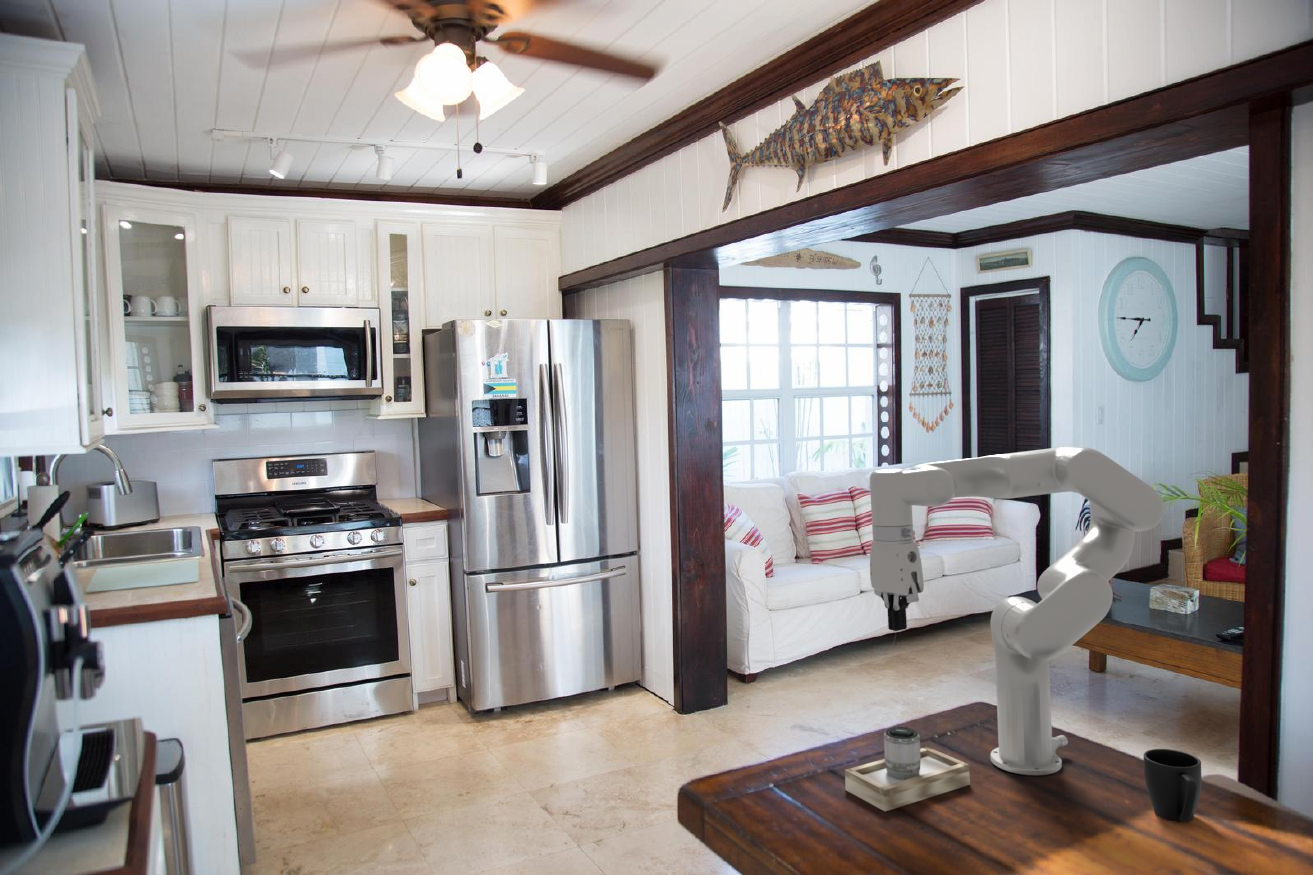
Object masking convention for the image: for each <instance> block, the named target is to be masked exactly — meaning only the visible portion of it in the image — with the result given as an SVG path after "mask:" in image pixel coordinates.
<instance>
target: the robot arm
mask: <svg viewBox="0 0 1313 875" xmlns="http://www.w3.org/2000/svg"><path fill="white" fill-rule="evenodd" d="M869 489H870V492H869V493H870V507H871V509H870V510H871V523H872V524H871V527H872V530H871V531H872V540H871V545H870V554H869V557H870V558H869V576H870V584H871V585H870V586H871V588H873V589H874V590H873V593H874V595H875V596H878V598H881V599H882V601H883V603H884V607H885V609H887V625H888V630H889V631H893V632H898V631H902V630H906V629H907V627H908V625H907V623H908V622H907V609H909V605H910V604H911V603H917V602H919V600H920V598H919V593H920V594H921V593H923V592H924V585H925V584H924V574H923V565H922V559H921V553H920V549H919V546H918V543H917V541H915V540H914V537H915V535H916V531H915V530H914V523H913V506H918V507H929V508H930V507H932V508H937V507H942V506H944V505H947V504H949V503H950V502H951V501H952V500H953V499H954V498H955V499H956V498H967V497H968V498H971V497H975V498H976V497H977V498H978V497H980V498H988V499H989V498H990V499H995V500H996V499H997V500H998V499H999V500H1001V499H1003V500H1005V499H1008V500H1009V499H1015V498H1017V499H1018V498H1024V497H1030V496H1031V497H1033V496H1034V497H1035V496H1041V495H1049V494H1050V495H1051V494H1058V493H1069V492H1070V493H1071V492H1072V493H1077V494H1079V495H1080V496H1082V497H1083V498H1085V499H1086V500H1087V501H1088V502H1089V513H1090V515H1089V516H1090V520H1089V526H1088V529H1087V532H1086V533H1085V535H1084V536H1083V537H1082V538H1081V539H1080V540H1079V541H1078V542H1077V543H1076V544H1075V545H1074V546H1073V547H1071V549H1069V550H1068V551H1067V552H1065V553H1064V554H1063V555H1062V556H1061V557H1059V559H1057V560H1056V561H1054V562H1053V563H1052V564H1051V565H1050V566H1049V567H1047V568H1045V569H1046V570H1044V571H1043V572H1042V573H1041V575H1040V576H1039V578H1038V581H1037V583H1036V584H1037V585H1036V588H1037V593H1038V595H1039V597H1040V599H1041V600H1040V601H1039V602H1035V601H1033V600H1031V599H1029V598H1027V597H1023V596H1009V597H1006V598H1004V599H1001V601H999V602H998V603H997V604H996V605H995V607H994V608H993V610H992V612H991V616H990V632H991V640H992V646H993V653H994V661H995V682H996V684H995V685H996V708H997V709H996V712H997V738H998V741H997V742H998V747H996V748H994V749H992V751H991V752H990V762H991V763H992V764H993V765H995V766H996V767H997V768H998V769H1001V770H1004V771H1007V772H1009V773H1014V774H1018V775H1025V776H1045V775H1051V774H1054V773H1055V774H1056V773H1058V772H1059V771H1060V770H1062V767H1063V761H1062V759H1061V757H1060V756H1059V755H1058V754H1056V750H1058V748H1060V747H1061V748H1062V747H1065V746H1066V745H1068V744H1069V740H1068V738H1067V737H1066V735H1063V734H1061V735H1057V736H1054V737H1053V728H1052V726H1053V725H1052V703H1051V701H1052V700H1051V674H1050V673H1051V672H1050V671H1051V670H1050V664H1049V663H1050V662H1049V661H1050V660H1052V659H1055V658H1057V657H1058V656H1060V655H1062V654H1063V653H1064V652H1065V651H1067V650H1068V649H1070V648H1071V647H1072V646H1073V645H1074V644H1075V643H1076V642H1077V641H1079V640H1080V639H1081V638H1083V637H1084V636H1085V635H1086V634H1087V633H1088V632H1090V631H1091V630H1092V629H1093V628H1094V627H1095V626H1097V625H1098V624H1099V623H1100V622H1101V621H1102V620H1103V619H1104V618H1105V617H1106V616H1107V614H1108V613H1109V611H1110V609H1111V606H1112V604H1113V597H1114V596H1113V595H1114V594H1113V589H1112V586H1111V584H1110V582H1109V581H1110V580H1112V579H1113V577H1114V576H1116V575H1117V574H1118V573H1119V571H1121V570H1122V569H1123V568H1124V567H1125V565H1126V564H1127V563H1128V561H1129V560H1130V558H1131V555H1132V552H1133V549H1134V542H1135V533H1136V532H1145V531H1149V530H1151V529H1154V528H1155V527H1157V525H1158V524H1160V522H1161V521H1162V519H1163V517H1164V515H1165V514H1164V513H1165V505H1164V504H1165V503H1164V502H1163V499H1162V497H1161V495H1160V494H1159V493H1158V492H1157V491H1156V490H1155V489H1154V488H1153V487H1152V486H1151V485H1149V484H1148V483H1146V482H1145V481H1144V480H1142V479H1141V478H1139V477H1137V476H1136V475H1135V474H1133V473H1132V472H1131V471H1129V470H1128V469H1126V468H1124V467H1123V466H1121V465H1120V464H1119V463H1118V462H1117V461H1114V460H1113V459H1112V458H1110V457H1109V456H1107V455H1105V454H1104V453H1102V452H1101V451H1099V450H1096V449H1094V448H1091V447H1079V446H1061V447H1059V446H1057V447H1050V448H1044V449H1035V450H1027V451H1017V452H1010V453H1009V452H1008V453H1003V454H994V455H993V454H992V455H985V456H980V457H972V458H963V459H953V460H952V459H951V460H946V461H945V460H944V461H936V462H929V463H928V462H927V463H921V464H917V465H914V466H912V467H911V468H910V469H909V470H906V469H903V468H885V469H877V470H873V472H872V473H871V474H870V476H869Z"/></svg>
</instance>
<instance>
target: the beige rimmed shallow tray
mask: <svg viewBox="0 0 1313 875" xmlns="http://www.w3.org/2000/svg"><path fill="white" fill-rule="evenodd" d="M920 761H921V765H920V771H919V776H917V777H914V778H910V779H898V778H894V777H892V776H890V775H888V773H887V769H886V765H885V758H883V759H879V760H876V761H872V762H868V763H865V764H862V765H859V766H858V765H857V766H854V767H850V768H847V769H845V770H844V778H845V781H844V783H845V790H846V791H847V792H848V793H850V794H852V795H854V796H856V797H857V798H859V799H861V800H863V801H864V802H867V803H869V804H870V805H872V806H873V807H876V808H878V809H880V810H882V812H887V811H891V810H895V809H898V808H901V807H904V806H906V805H907V806H908V805H910V804H913V803H917V802H920V801H923V800H927V799H929V798H933V797H936V796H938V795H939V796H940V795H941V794H945V793H948V792H951V791H954V790H957V789H960V788H964V787H967V786H970V785H971V782H970V781H971V779H970V778H971V777H970V764H969V763H966V762H964V761H962V760H960V759H957V758H955V757H952V756H950V755H947V754H945V753H943V752H940V751H938V750H936V749H934V748H932V747H929V746H925V747H920Z"/></svg>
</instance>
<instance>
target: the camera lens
mask: <svg viewBox="0 0 1313 875" xmlns="http://www.w3.org/2000/svg"><path fill="white" fill-rule="evenodd" d="M920 736H921V735H919V733H918V732H917V731H916V730H915V729H913V728H909V727H906V726H905V727H904V726H894V727H890V728H888V729H887V730H885V731H884V733H883V743H884V745H883V746H884V759H885V765H886V769H887V773H888V775H890V776H892V777H894V778H898V779H910V778H914V777H917V776H919V771H920V765H921V761H920V749H921V737H920Z"/></svg>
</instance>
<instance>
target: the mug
mask: <svg viewBox="0 0 1313 875" xmlns="http://www.w3.org/2000/svg"><path fill="white" fill-rule="evenodd" d="M1143 774H1144V781H1145V786H1146V790H1147V794H1148V796H1149V799H1150V803H1151V806H1152V809H1153V812H1154V814H1155V815H1156V816H1157V817H1159V818H1160V819H1162V820H1165V821H1168V822H1172V823H1173V822H1174V823H1189V822H1191V821H1193V820H1194V819H1195V818H1194V816H1195V813H1196V810H1197V808H1198V804H1199V800H1200V796H1201V791H1202V790H1201V789H1202V779H1203V778H1202V761H1201V760H1200V758H1198V757H1197V756H1195V755H1194V754H1191V753H1189V752H1186V751H1182V750H1176V749H1169V748H1153V749H1148V750H1147V751H1145V752H1144V753H1143Z"/></svg>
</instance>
